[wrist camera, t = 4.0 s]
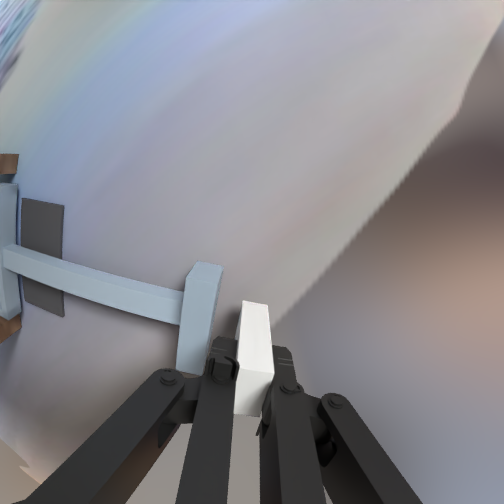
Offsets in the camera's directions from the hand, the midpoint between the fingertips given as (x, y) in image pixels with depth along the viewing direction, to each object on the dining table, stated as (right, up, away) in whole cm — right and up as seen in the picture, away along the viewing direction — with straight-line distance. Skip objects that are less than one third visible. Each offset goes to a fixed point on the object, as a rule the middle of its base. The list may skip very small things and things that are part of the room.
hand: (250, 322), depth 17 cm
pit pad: (-17, +4, +1) cm, 17 cm away
